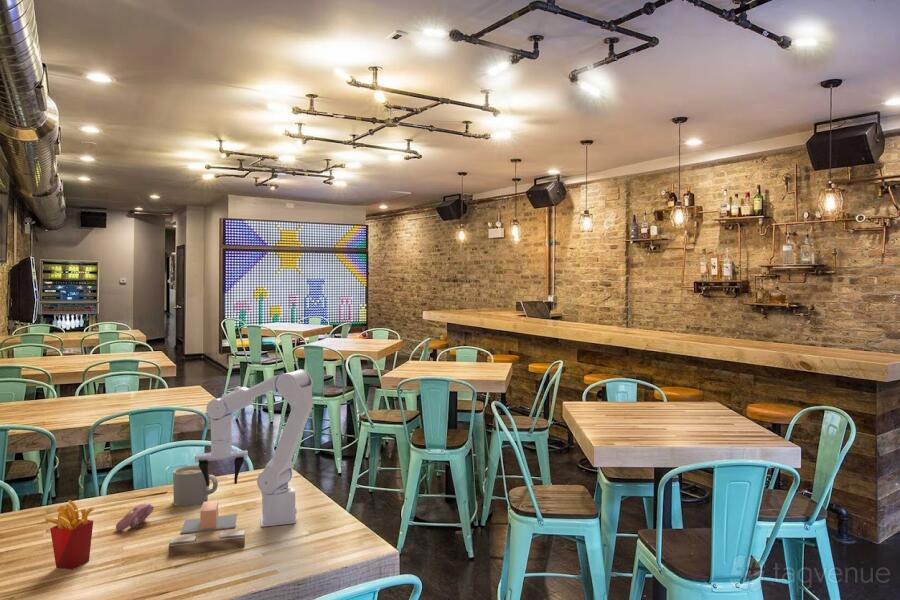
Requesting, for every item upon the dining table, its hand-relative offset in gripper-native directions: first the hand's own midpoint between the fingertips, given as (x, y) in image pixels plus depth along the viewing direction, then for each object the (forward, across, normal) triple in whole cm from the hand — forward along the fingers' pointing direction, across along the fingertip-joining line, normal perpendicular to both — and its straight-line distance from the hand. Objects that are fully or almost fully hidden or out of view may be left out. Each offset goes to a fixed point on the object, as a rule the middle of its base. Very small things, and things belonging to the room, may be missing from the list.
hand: (221, 484), depth 179 cm
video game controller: (+10, +23, 0) cm, 25 cm away
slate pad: (+9, +3, +6) cm, 12 cm away
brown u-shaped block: (+9, +2, +22) cm, 24 cm away
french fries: (+10, +34, +23) cm, 42 cm away
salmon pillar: (+9, +3, +6) cm, 11 cm away
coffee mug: (+10, +9, -16) cm, 21 cm away
